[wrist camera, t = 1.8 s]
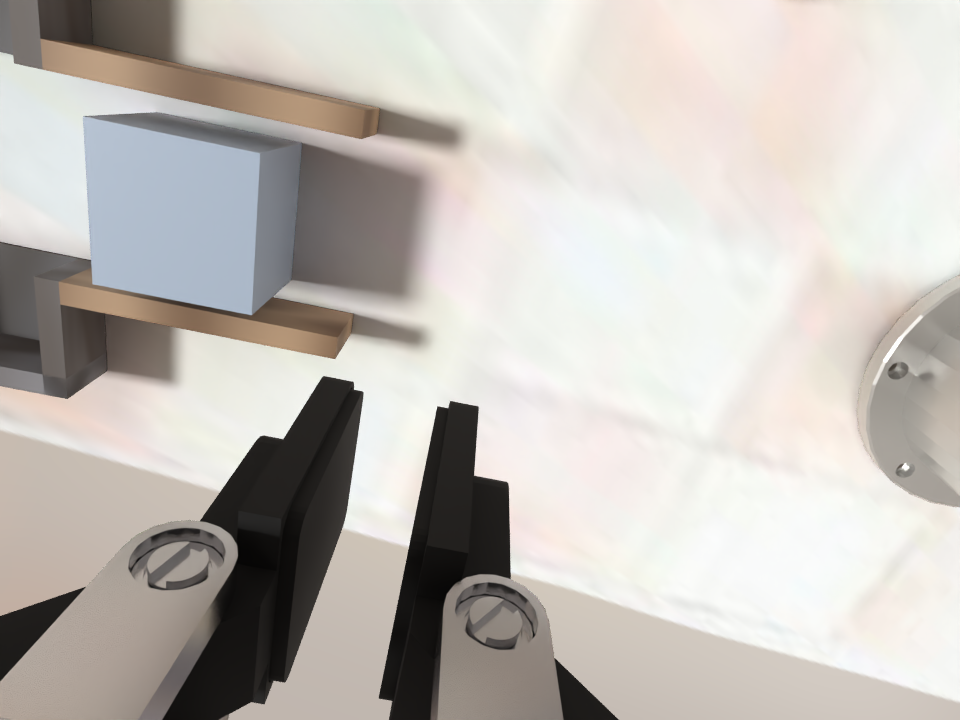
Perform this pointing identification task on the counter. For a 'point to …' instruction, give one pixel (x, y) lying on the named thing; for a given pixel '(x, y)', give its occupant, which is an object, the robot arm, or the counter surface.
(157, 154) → the block
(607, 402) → the counter surface
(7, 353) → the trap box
